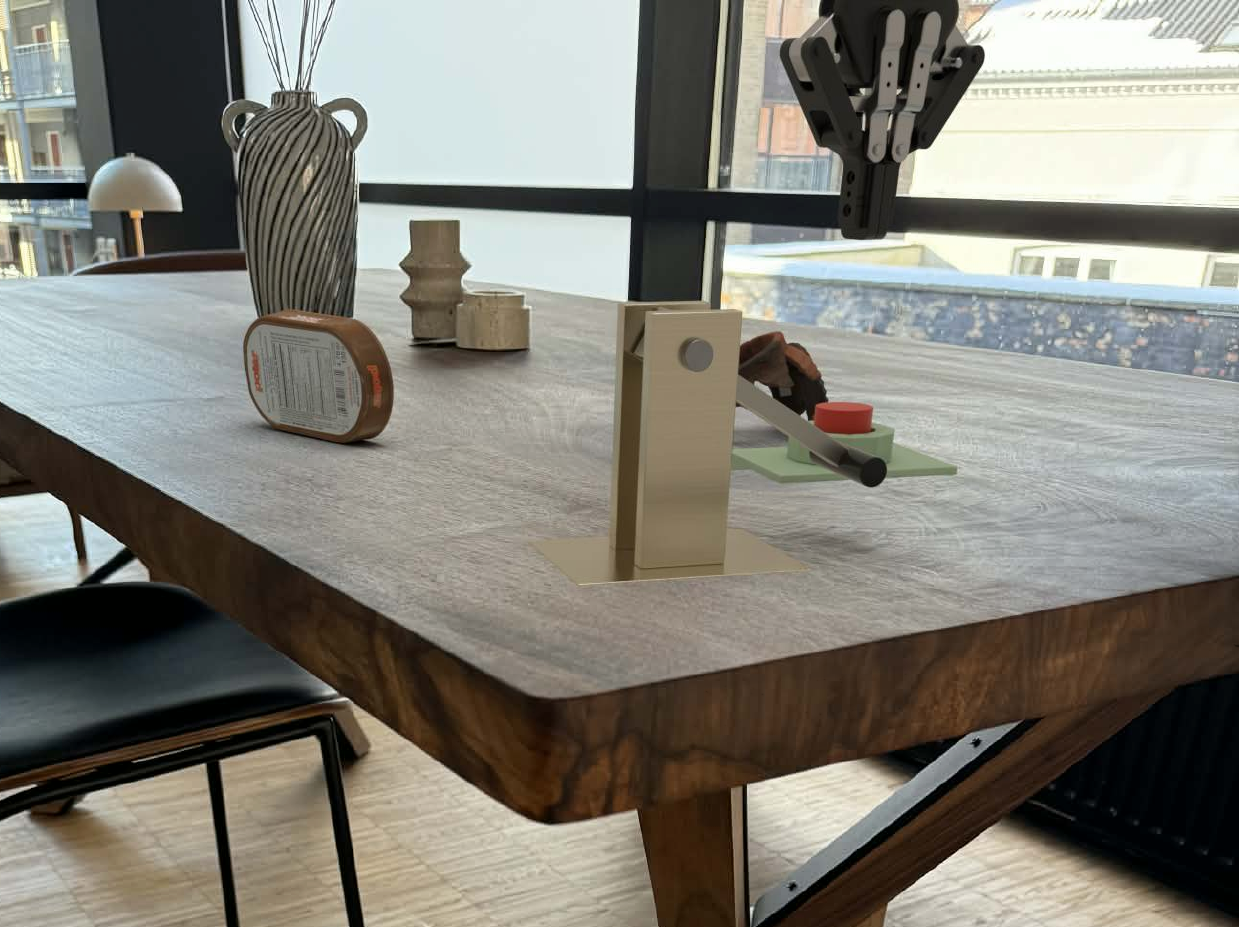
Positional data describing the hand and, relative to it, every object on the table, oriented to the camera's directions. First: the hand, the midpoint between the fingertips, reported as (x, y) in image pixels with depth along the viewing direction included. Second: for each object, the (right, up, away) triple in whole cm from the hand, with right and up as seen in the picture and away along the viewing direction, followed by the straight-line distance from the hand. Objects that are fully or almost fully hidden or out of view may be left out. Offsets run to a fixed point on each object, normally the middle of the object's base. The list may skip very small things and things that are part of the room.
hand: (863, 238), depth 84 cm
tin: (-34, -1, +29) cm, 45 cm away
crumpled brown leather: (0, -1, +30) cm, 30 cm away
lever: (-8, -14, -10) cm, 19 cm away
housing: (+1, -9, +14) cm, 17 cm away
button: (+1, -7, +12) cm, 14 cm away
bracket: (-12, -21, -7) cm, 25 cm away
